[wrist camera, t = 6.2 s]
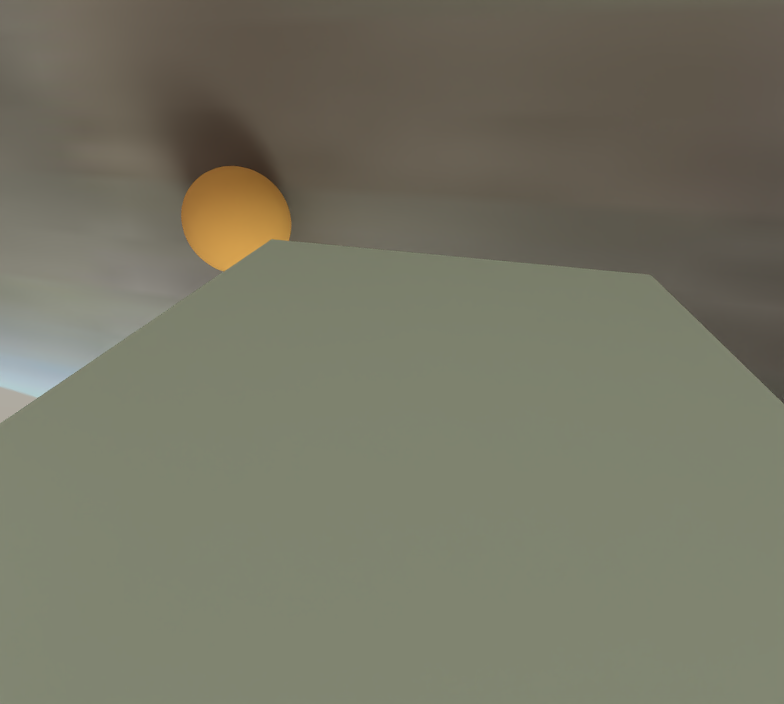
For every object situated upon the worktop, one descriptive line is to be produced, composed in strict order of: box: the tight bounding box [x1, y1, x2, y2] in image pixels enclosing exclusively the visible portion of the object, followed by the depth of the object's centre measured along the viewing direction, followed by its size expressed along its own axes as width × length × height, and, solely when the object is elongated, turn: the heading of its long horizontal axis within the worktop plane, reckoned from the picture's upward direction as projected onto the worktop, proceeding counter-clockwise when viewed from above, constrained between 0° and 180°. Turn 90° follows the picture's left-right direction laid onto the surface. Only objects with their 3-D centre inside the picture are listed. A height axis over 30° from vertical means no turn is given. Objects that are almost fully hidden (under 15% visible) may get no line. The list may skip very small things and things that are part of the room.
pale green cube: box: [0, 239, 784, 704], centre depth 7 cm, size 8×8×9 cm
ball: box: [181, 166, 291, 271], centre depth 22 cm, size 5×5×5 cm
